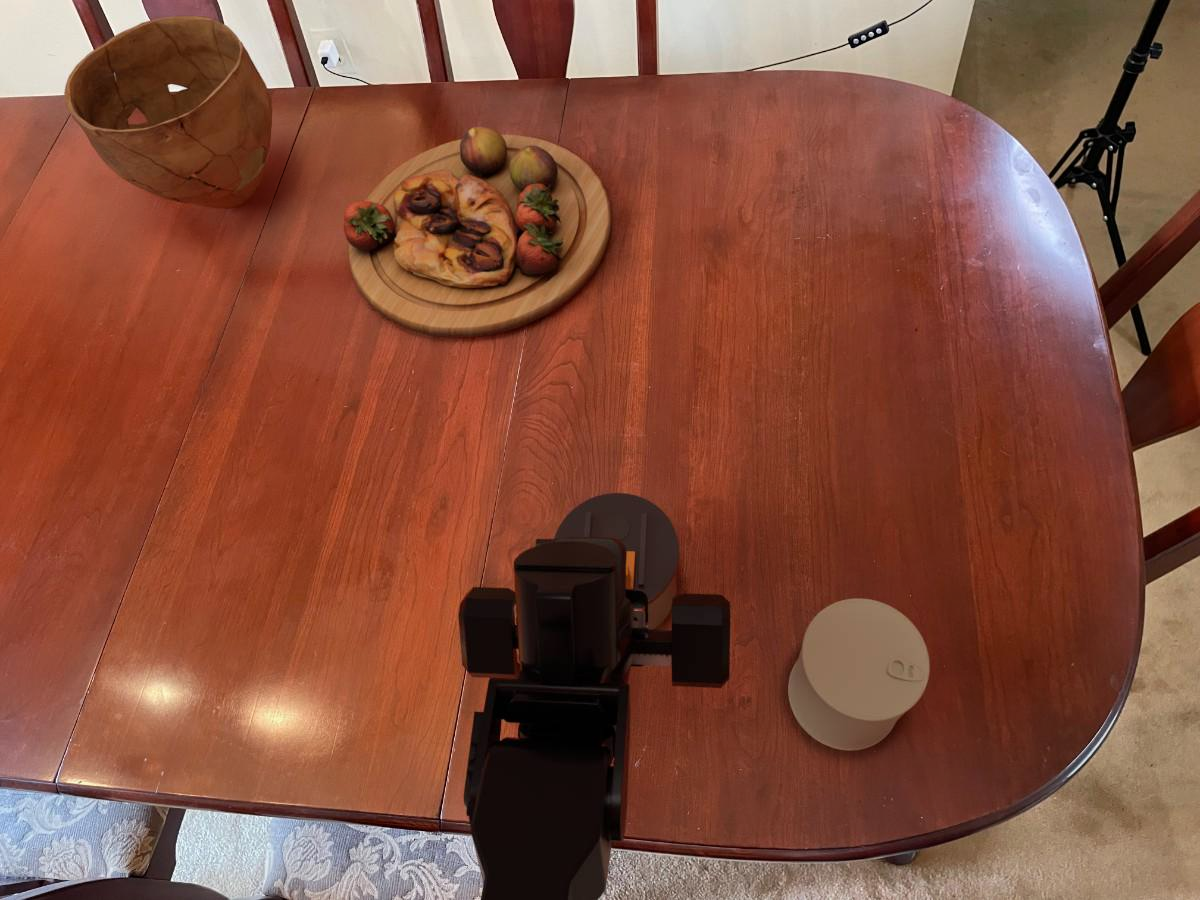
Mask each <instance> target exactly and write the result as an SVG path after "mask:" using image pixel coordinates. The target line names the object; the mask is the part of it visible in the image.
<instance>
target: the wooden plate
mask: <svg viewBox="0 0 1200 900" xmlns="http://www.w3.org/2000/svg"><path fill="white" fill-rule="evenodd" d="M612 219H613V215H612V207H611V201H610V198H609V194H608V191H607V189H606V188H605V186H604V184H603V182H602V180H601V179H600V177H599V176H598V174H597V173H596V171H594V169H593V168H591V166H590V165H589V164H588V163H587V162H586V161H585V160H584V159H582V158H581V157H580V156H578V155H577V154H575V153H574V152H572V151H570V150H568V149H566V148H564V147H562V146H560V145H558V144H557V143H553V142H551V141H547V140H545V139H541V138H537V137H532V136H531V137H530V136H526V135H525V136H524V135H516V134H501V133H500V132H498V131H497V130H496V129H494V128H491V127H488V126H486V125H475V126H471V128H469V129H467V131H466V132H465V133H464V135H463V136H462V138H460V139H457V140H452V141H449V142H446V143H442V144H440V145H438V146H435V147H432V148H429V149H428V150H426V151H423V152H421V153H419V154H417V155H415V156H413V157H412V158H410V159H407V160H406V161H405V162H403V163H402V164H400V165H399V166H398V167H396V168H395V169H394V170H392V171H391V172H389V173H388V174H387V175H386V176H385V177H384V178H383V179H382V180H381V181H379V183H377V184H376V186H375V187H374V188H373V189H372V190H371V191H370V192H369V194H368V195H367V197H365V199H364V200H359V201H356V202H353V203H351V204H349V205H348V207H347V208H346V209H345V212H344V215H343V222H344V223H343V232H344V235H345V239H346V240H347V242H348V247H347V248H348V249H347V250H348V251H347V252H348V264H349V269H350V272H351V276H352V278H353V280H354V283H355V284H356V286H357V288H358V290H359V292H360V294H361V295H362V296H363V298H364V299H365V300H366V302H367V303H368V304H369V305H370V306H371V307H372V308H373V309H374V310H375V311H377V312H378V313H379V314H381V315H382V316H383V317H385V318H386V319H388V320H390V321H392V322H393V323H395V324H396V325H399V326H401V327H403V328H405V329H408V330H411V331H413V332H417V333H421V334H424V335H429V336H434V337H435V336H436V337H444V338H455V339H456V338H473V337H484V336H490V335H497V334H500V333H501V334H502V333H504V332H508V331H511V330H514V329H517V328H520V327H522V326H526V325H527V324H530V323H532V322H534V321H537V320H538V319H540V318H543V317H544V316H546V315H548V314H550V313H551V312H553V311H554V310H556V309H557V308H559V307H561V306H562V305H563V304H565V303H566V302H567V301H569V299H570V298H572V297H573V296H574V295H575V294H576V293H577V292H579V290H581V288H582V287H583V286H584V285H585V284H586V283H587V282H588V280H590V278H591V277H592V276H593V274H594V273H595V271H596V270H597V268H598V267H599V265H600V263H601V261H602V259H603V258H604V255H605V253H606V250H607V247H608V244H609V241H610V237H611V233H612V221H613V220H612Z"/></svg>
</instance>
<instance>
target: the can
mask: <svg viewBox="0 0 1200 900" xmlns="http://www.w3.org/2000/svg"><path fill="white" fill-rule="evenodd" d="M930 666H931V665H930V656H929V650H928V648H927V644H926V642H925V640H924V638H923V636H922V634H921V633H920V631H919V629H918V628H917V627H916V626H915V625H914V623H913V622H912V621H911V620H910V619H909V618H908V617H907V616H906V615H904V614H903V613H902V612H900V611H899V610H898V609H896V608H895V607H892V606H891V605H889V604H887V603H884V602H882V601H879V600H874V599H870V598H861V597H859V598H858V597H857V598H847V599H843V600H839V601H836V602H833V603H831V604H829V605H828V606H826V607H825V608H823V609H822V610H821V611H819V612H818V613H817V614H816V615H815V616H814V617H813V619H812V620H811V621H810V623H809V624H808V625H807V627H806V630H805V632H804V635H803V639H802V643H801V649H800V652H799V655H798V658H797V660H796V662H795V663H794V665H793V667H792V669H791V672H790V675H789V679H788V685H787V687H788V688H787V694H788V701H789V705H790V709H791V710H792V713H793V715H794V717H795V719H796V721H797V722H798V724H799V725H800V727H801V728H802V729H803V730H804V731H805V732H806V733H807V734H808V735H809V736H810V737H812V738H813V739H814V740H815V741H816V742H819V743H820V744H823V745H824V746H827V747H829V748H832V749H835V750H840V751H851V752H852V751H860V750H865V749H868V748H871V747H873V746H875V745H876V744H879V743H880V742H881V741H883V740H884V739H885V738H886V737H887V736H888V735H889V734H890V733H891V731H892V730H893V728H894V727H895V725H896V723H897V721H899V720H900V718H901V717H902V716H903V715H904V714H905V713H907V712H908V711H910V709H912V708H913V706H915V705H916V704H917V703H918V702H919V700H920V699H921V697H922V696H923V694H924V692H925V690H926V687H927V685H928V682H929V679H930V669H931V667H930Z"/></svg>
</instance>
